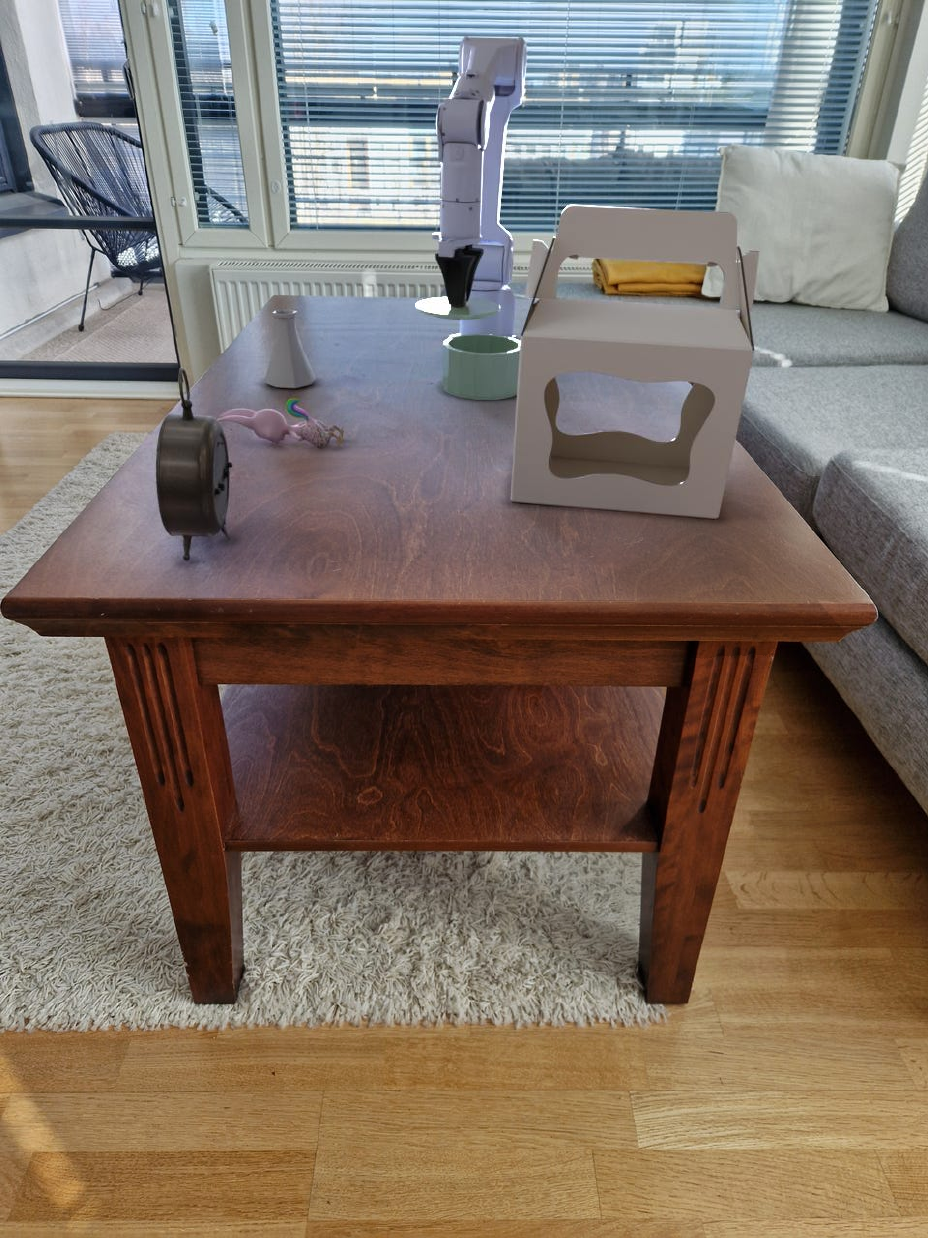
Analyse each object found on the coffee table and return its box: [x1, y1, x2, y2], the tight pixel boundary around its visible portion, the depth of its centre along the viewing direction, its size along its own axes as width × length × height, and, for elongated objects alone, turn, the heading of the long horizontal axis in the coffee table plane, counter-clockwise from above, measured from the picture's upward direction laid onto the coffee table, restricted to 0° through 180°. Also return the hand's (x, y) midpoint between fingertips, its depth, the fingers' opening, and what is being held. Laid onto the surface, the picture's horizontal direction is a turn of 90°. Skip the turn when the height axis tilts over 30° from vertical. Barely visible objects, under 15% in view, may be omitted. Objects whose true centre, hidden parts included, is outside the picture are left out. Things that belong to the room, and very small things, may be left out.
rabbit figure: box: [216, 397, 345, 449], centre depth 99 cm, size 6×6×15 cm
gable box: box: [510, 204, 760, 520], centre depth 85 cm, size 22×13×28 cm, turn 82°
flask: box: [263, 308, 317, 389], centre depth 119 cm, size 7×7×10 cm
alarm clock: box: [155, 367, 233, 562], centre depth 74 cm, size 11×5×16 cm, turn 5°
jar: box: [442, 334, 520, 401], centre depth 120 cm, size 12×12×6 cm
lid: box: [415, 295, 500, 321], centre depth 122 cm, size 13×13×4 cm
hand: (458, 302), depth 122 cm, fingers closed on lid, 2 cm apart
